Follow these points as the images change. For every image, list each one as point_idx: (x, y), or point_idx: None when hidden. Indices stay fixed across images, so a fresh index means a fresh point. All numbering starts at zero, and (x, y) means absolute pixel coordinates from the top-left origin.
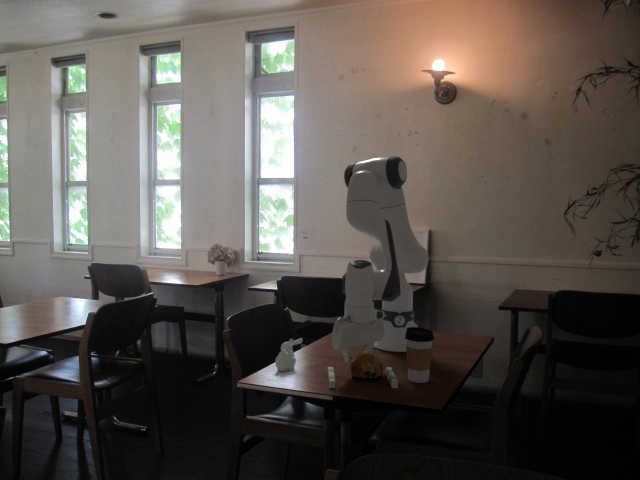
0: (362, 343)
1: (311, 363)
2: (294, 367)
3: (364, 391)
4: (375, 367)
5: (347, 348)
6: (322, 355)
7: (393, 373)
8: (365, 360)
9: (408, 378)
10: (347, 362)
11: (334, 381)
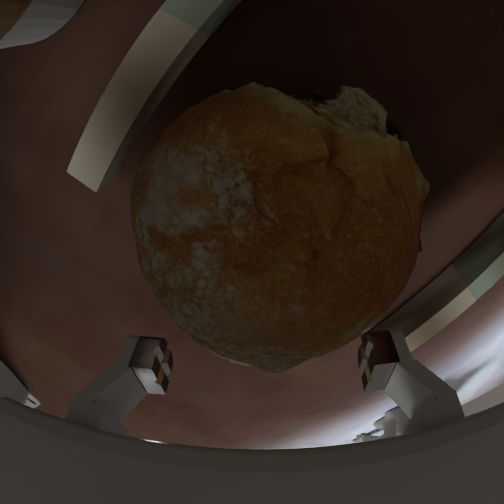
0: (261, 464)
1: (306, 423)
2: (391, 412)
3: (488, 34)
4: (303, 108)
5: (455, 418)
6: (213, 440)
7: (152, 23)
8: (390, 222)
9: (79, 2)
10: (397, 330)
11: None
